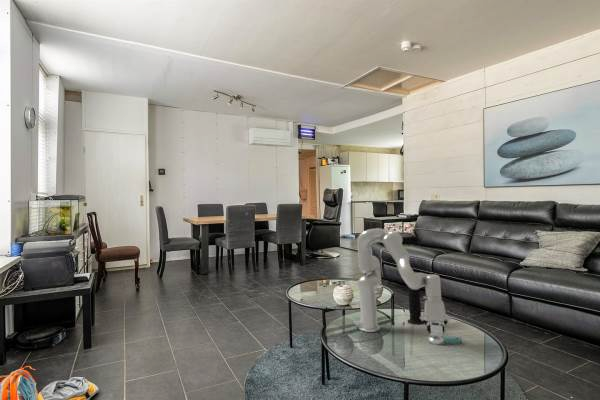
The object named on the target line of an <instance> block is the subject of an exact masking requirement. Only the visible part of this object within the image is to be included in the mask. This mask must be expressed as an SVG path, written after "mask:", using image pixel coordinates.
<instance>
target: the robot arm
mask: <svg viewBox="0 0 600 400" xmlns="http://www.w3.org/2000/svg"><path fill="white" fill-rule="evenodd" d="M356 240H357V245H356V246H357V257H358V258H357V259H358V260H357V261H358V269H359V271H360V272H361V274H365V275H362V276H361V277H360V278H359V279H358V281H357V289H358V292H359V293H358V294H359V307H360V319H359V320H353V324H354V325H355V326H358V329H359V330H360V331H362V332H366V333H374V332H378V331H380V330H381V326H380V325H379V324H378V314H377V313H378V311H377V310H378V309H377V298H376V293H375V289H377V288H379V287H380V285H381V283H382V271H381V261H380V260H379V258H378V257H377V256H375V255H373V249H372V246H371V245H372V244H377V243H382V244H383V246H384V247H385V248H386V249H387V251H388V252H389V254H390V255H391V257H392V259H393V260H394V262H395V263H396V267H397V269H398V272H399V275H400V276H401V278H402V280H403V282H404V283H405V284H406V286H407V287H408V286H409V287H410V288H411V289H413V290H417V289H421V288H424V287H425V288H424V289H425V295H422V298H423V299H424V307H423V308H424V312H423V313H421V316H420V319H421V320H422V321H423V322H424V324H425V325H426V331H427V332H428V334H430V322H440V323H441V325H442V329H443V335H444V334H445V331H446V330H445V327H446V325H447V324H449V323H448V322H450V321H451V317H450V316H449V315H448V314H447V313H446V307H445V303H444V300H442V290H441V287H442V286H441V277H440V275H438V274H433V273H432V274H431V273H430V274H428V273H424V272H416V273H415V272H414V270H413V268H412V267H411V264H410V254H409V252H408V251H407V249H406V248H405V246H404V245H403V240H404V239H403V236H402V235H401V234H400V233H399V232H397V231H393V230H388V229H384V228H380V227H376V228H370V229H369V228H368V229H366V230H364V231H362V232H361V233H359V235H358V237H357V239H356Z"/></svg>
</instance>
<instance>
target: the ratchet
mask: <svg viewBox="0 0 600 400" xmlns="http://www.w3.org/2000/svg"><path fill="white" fill-rule="evenodd" d="M427 342H428V344H430V345H434V346H442V345H444V344H447V345H448V344H449V345H451V344H452V345H460V344H463V339H462V337H461V336H445V335H443V336H433V335H431V334H428V335H427Z"/></svg>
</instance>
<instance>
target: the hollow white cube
mask: <svg viewBox="0 0 600 400" xmlns="http://www.w3.org/2000/svg"><path fill="white" fill-rule="evenodd" d="M441 324H442V323H441V321H430V333H429V335H433V336H444V334H443V329H442V325H441Z"/></svg>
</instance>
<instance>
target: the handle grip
mask: <svg viewBox="0 0 600 400" xmlns="http://www.w3.org/2000/svg"><path fill="white" fill-rule="evenodd" d="M407 288H408V292H407V293H408V304H409V305H408V309H409V319H408V320H407V323H408V324H411V325H415V326H416V325H417V326H419V325H423V324H425V323H424V322H423V321H422V320H421V319H420V316H421V315H422V305H421V292H420V291H421V288H419V289H417V290H413V289H411V288H410V287H409V286H408V285H407Z"/></svg>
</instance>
